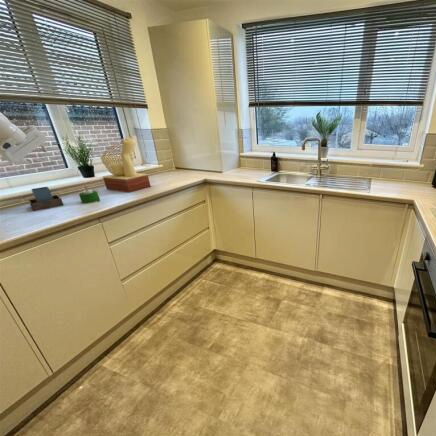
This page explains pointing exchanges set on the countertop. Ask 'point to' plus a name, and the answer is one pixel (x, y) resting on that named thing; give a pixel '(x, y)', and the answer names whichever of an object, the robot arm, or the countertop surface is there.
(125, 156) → the cream sculpture
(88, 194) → the candle
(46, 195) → the grey rectangular block
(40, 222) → the countertop surface
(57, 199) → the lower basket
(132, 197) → the countertop surface
